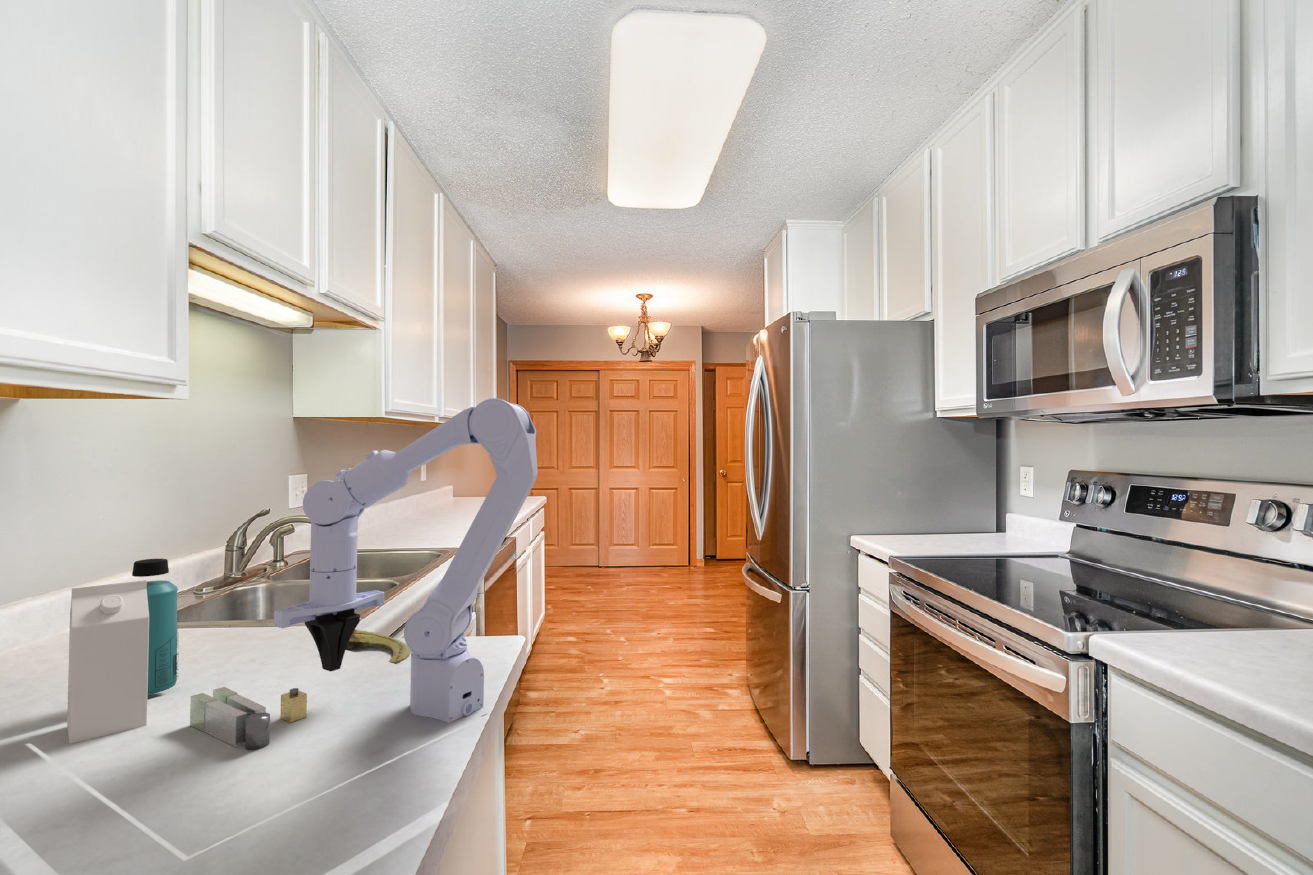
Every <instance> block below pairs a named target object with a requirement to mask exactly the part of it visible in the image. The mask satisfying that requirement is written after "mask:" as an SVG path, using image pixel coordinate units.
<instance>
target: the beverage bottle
mask: <svg viewBox="0 0 1313 875" xmlns="http://www.w3.org/2000/svg"><path fill="white" fill-rule="evenodd" d="M169 570H170V568H169V560H168V559H167V558H147V559H140V560H136V561H134V563H133V568H132V570H131V576H132V577H137V578H138V577H139V578H142V577H143V578H144V577H155V576H162V575H166V574H167V575H168V574H169V572H170V571H169ZM146 581H147V598H148V608H149V649H148V693H147V696H149V695H153V694H158V693H161V692H165V691H166V690H170V689H172V688H173V687H174V686H176V683H177V680H178V675H179V672H178V671H179V668H178V665H179V659H178V656H179V653H178V650H179V647H180V646H179V632H178V624H179V623H180V622H179V618H178V591H179V588H178V586H176V585H175V584H174V583H172V582H171V581H170V580H150V581H148V580H146Z"/></svg>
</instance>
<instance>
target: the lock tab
mask: <svg viewBox="0 0 1313 875" xmlns="http://www.w3.org/2000/svg"><path fill="white" fill-rule="evenodd" d="M307 700H308V693H306V692H303V691H300V690H299V688H298V687H295V688H290V689H289V692H286V693H285V692H284V693H283V694H281V695H280V714H279V715H280V719H281V720H284V721H285V722H289V723H293V722H297V721H299V720H302V719H304V718H307V711H308V709H307V704H308V701H307Z"/></svg>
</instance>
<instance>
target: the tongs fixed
mask: <svg viewBox="0 0 1313 875" xmlns="http://www.w3.org/2000/svg"><path fill="white" fill-rule="evenodd" d="M189 705H190V710H189V711H190V712H189V725H190V727H193V728H194V729H196V730H199V731H201V732H203V733H206V734H208V735H210V736H211V737H214V738H216V739H217V740H220V741H221V742H224V743H226V744H228V745H230V746H232V747H234V748H237V747H240V746H243V745H244V749H245V750H246V751H258V750H261V749H265V748H266V747H267V746H269V745H270V735H271V734H270V729H271V728H270V727H271V726H270V725H271V724H270V723H271V720H270V719H271V714H270V713H269V712H262V713H256V714H252V715H250V716H248V717H247V713H246V712H243V711H241V710H239V709H236V708H234V707H232V706H229V705H227V704H225V703H222V702H220V701H218V700H217V699H216V698H213V696H211V695H208V694H206V693H205V692H201V693H198V694H195V695H191V696H190V704H189Z"/></svg>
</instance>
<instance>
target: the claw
mask: <svg viewBox="0 0 1313 875" xmlns="http://www.w3.org/2000/svg"><path fill="white" fill-rule="evenodd" d="M369 646H371V647H377V646H378V648H384V649H387V650H390V651H392V653H393V655H392V657H391V658H390V659H389V661H388V663H390V664H397V663H401V662H402V661H404V660H406V659H407V658H408V657H409V656H410V655H411V650H410V649H409V647H408V646H407V644H406V642H405V643H404V642H403V641H401V640H399V639H397V638H395V637H390V636H389V635H385V634H382V633H377V632H373V631H366V630H359V629H356V628H355V630H354V632H353V633H352V635H351V637H350V640H349V642H348V644H347V647H346V650H345V651H350V650H351V649H355V647H356V648H359V647H360V648H361V647H363V648H364V647H366V648H367V647H369ZM400 661H401V662H400Z"/></svg>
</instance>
